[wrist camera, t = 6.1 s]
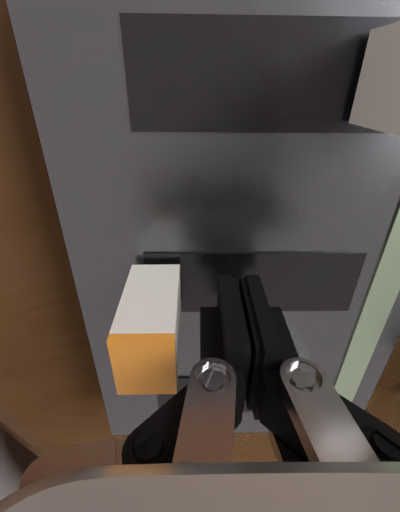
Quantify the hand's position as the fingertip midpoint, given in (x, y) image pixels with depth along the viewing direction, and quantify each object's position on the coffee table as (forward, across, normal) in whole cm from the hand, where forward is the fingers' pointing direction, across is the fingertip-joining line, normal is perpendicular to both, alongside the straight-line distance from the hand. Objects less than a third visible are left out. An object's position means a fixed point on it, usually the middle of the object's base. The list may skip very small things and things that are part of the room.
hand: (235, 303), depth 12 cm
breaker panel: (+4, -1, 0) cm, 5 cm away
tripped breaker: (+1, +3, 0) cm, 4 cm away
